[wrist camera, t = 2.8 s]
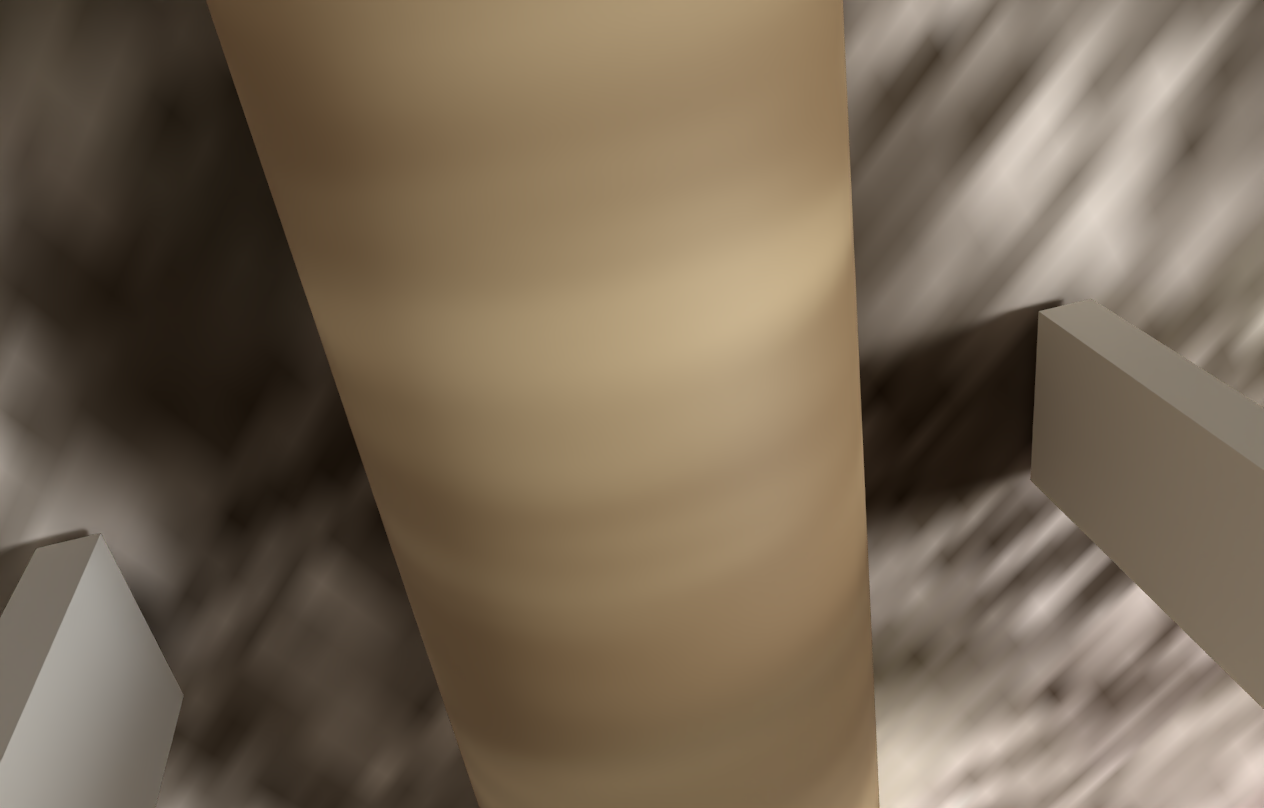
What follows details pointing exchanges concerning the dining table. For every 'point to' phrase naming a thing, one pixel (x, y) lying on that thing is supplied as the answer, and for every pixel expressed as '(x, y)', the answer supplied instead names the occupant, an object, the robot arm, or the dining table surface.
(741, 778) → the baguette
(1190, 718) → the dining table surface
